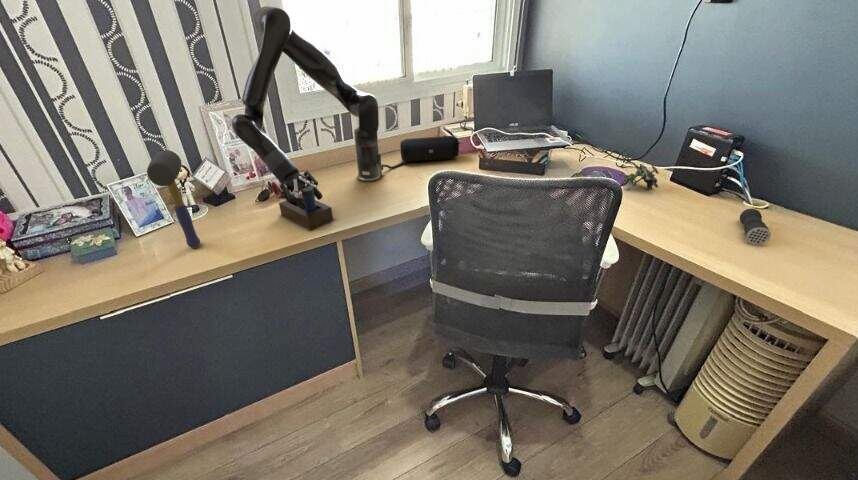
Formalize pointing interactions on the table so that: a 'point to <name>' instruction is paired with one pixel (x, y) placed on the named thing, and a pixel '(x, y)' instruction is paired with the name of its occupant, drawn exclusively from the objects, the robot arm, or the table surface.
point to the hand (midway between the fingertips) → (313, 203)
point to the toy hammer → (275, 186)
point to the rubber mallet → (173, 190)
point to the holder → (306, 214)
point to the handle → (309, 198)
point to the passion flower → (645, 175)
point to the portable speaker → (429, 148)
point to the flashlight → (754, 227)
